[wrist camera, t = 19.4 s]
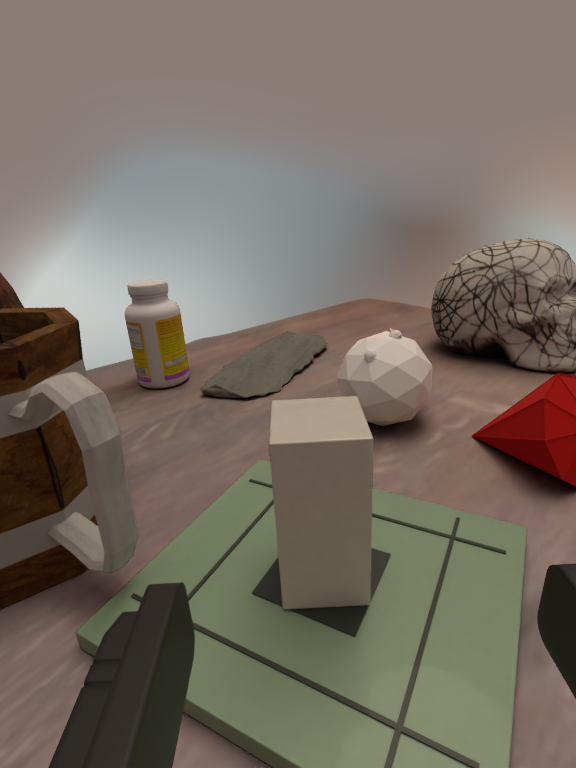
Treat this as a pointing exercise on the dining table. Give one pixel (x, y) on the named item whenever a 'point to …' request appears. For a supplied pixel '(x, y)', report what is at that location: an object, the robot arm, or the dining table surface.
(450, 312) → the sculpture
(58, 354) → the mug
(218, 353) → the dining table surface
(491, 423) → the gemstone
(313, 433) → the beige rectangular block
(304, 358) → the stone slab
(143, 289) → the supplement bottle
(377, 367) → the decorative ball
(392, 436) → the dining table surface
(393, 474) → the dining table surface
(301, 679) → the grid board
